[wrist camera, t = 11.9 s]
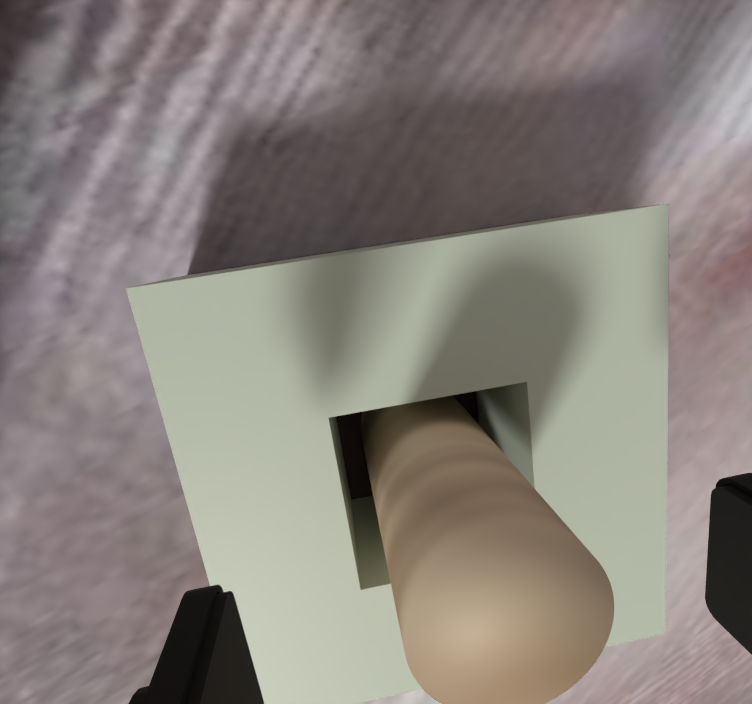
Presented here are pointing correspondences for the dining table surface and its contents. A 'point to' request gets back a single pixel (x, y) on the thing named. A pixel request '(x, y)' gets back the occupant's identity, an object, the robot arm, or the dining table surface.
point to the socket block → (407, 385)
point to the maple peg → (479, 562)
